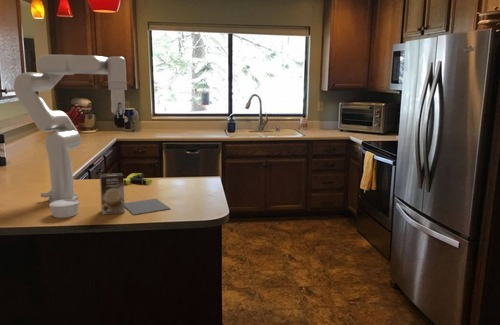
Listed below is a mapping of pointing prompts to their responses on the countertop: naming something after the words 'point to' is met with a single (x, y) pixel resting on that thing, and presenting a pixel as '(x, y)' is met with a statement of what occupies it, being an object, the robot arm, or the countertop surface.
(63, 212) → the ramekin
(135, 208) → the mat
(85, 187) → the countertop surface
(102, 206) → the coffee box
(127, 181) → the stun gun
